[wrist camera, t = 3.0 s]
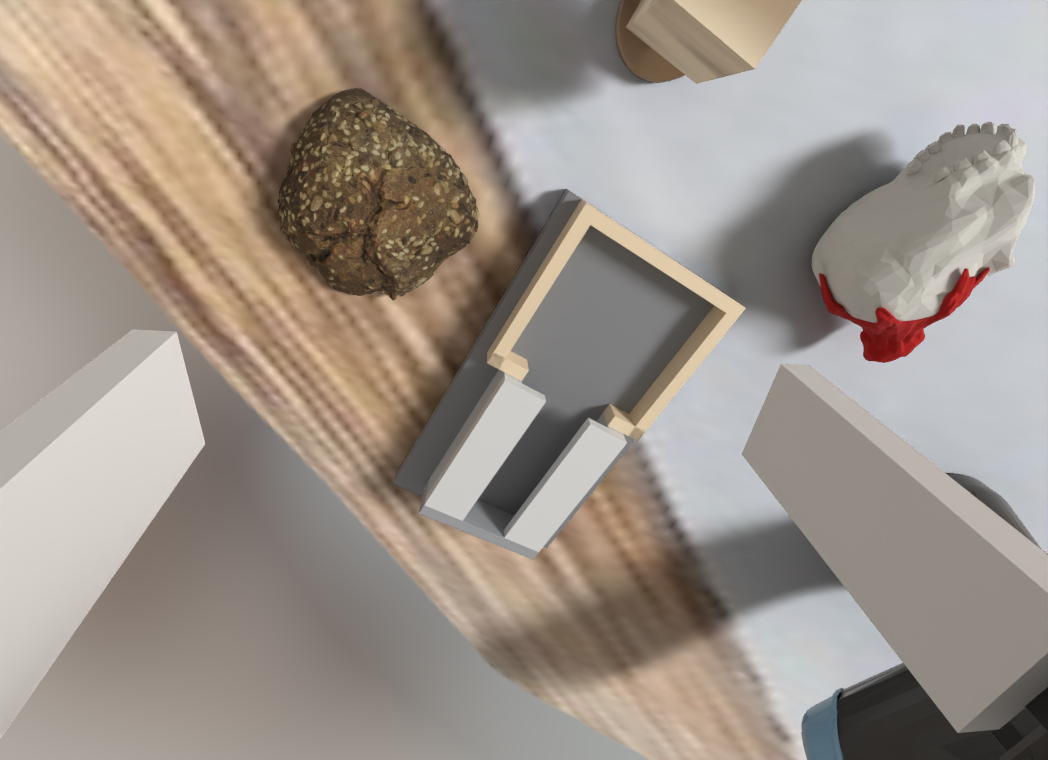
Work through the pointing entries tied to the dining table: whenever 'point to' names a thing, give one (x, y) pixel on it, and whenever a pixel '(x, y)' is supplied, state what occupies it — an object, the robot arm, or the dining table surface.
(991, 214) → the white and red figurine
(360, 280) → the bread roll
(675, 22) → the maple peg
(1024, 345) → the dining table surface
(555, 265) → the keyhole board
